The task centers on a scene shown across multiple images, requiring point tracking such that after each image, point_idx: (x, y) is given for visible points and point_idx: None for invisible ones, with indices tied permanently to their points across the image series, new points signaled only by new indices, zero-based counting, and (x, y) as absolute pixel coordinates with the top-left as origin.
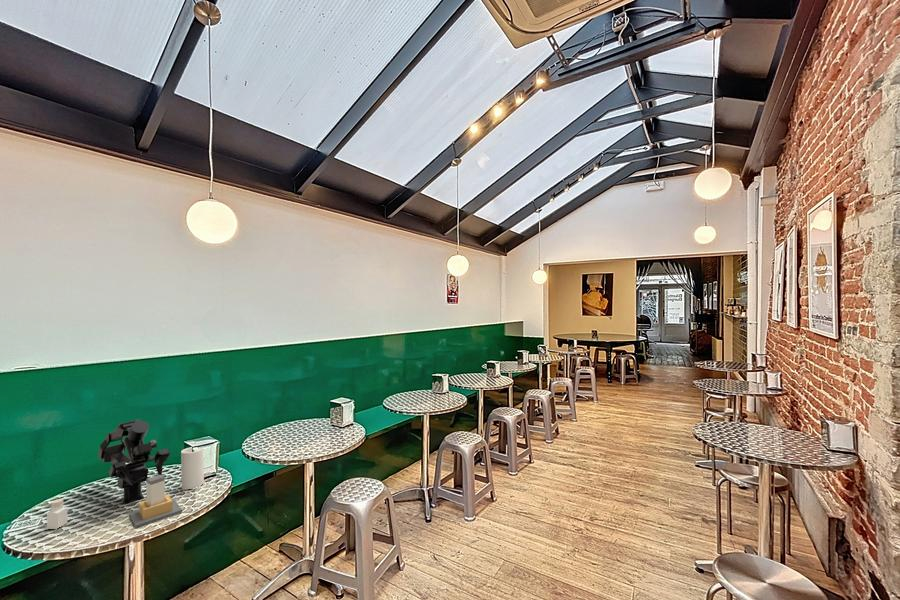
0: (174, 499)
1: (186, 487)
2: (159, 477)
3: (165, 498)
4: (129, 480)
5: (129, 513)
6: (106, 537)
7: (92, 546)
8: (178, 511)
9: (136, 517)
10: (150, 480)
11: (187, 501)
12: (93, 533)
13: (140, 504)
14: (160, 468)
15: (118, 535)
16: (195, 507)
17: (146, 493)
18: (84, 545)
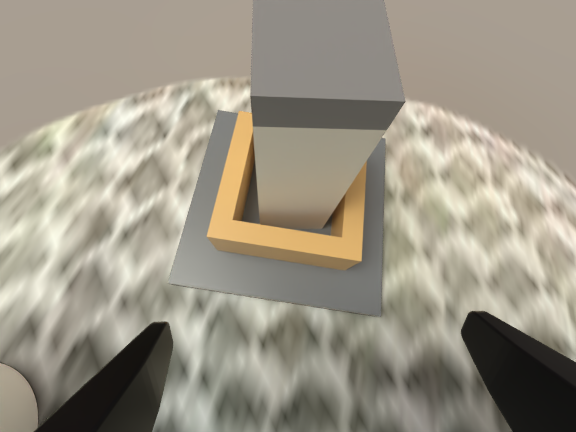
0: (174, 260)
1: (17, 401)
2: (292, 17)
3: (241, 186)
4: (560, 355)
5: (379, 310)
6: (467, 168)
7: (504, 143)
8: (233, 114)
9: (368, 212)
10: (380, 23)
11: (144, 207)
12: (510, 252)
13: (361, 221)
14: (84, 417)
15: (433, 145)
16: (167, 114)
17: (350, 183)
18: (528, 174)
